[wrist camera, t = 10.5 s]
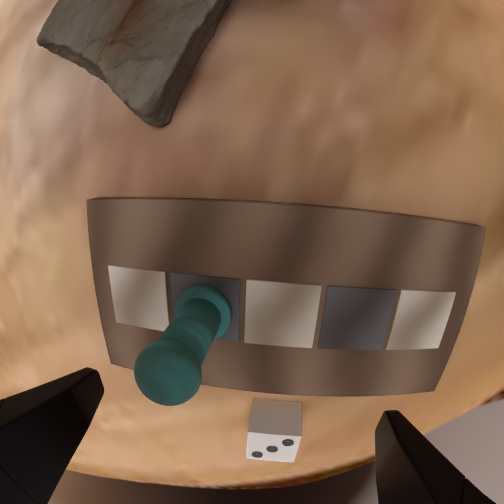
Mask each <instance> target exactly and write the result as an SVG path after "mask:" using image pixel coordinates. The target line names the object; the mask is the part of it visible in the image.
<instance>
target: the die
mask: <svg viewBox="0 0 504 504" xmlns="http://www.w3.org/2000/svg"><path fill="white" fill-rule="evenodd" d="M301 437H302V402H292V401H279V400H268V399H259V398H254V402H253V408H252V413H251V418H250V424H249V429H248V437H247V450H246V458H249V459H257V460H267V461H279V462H294V460H295V456H296V453H297V450H298V447H299V444H300V440H301Z"/></svg>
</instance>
